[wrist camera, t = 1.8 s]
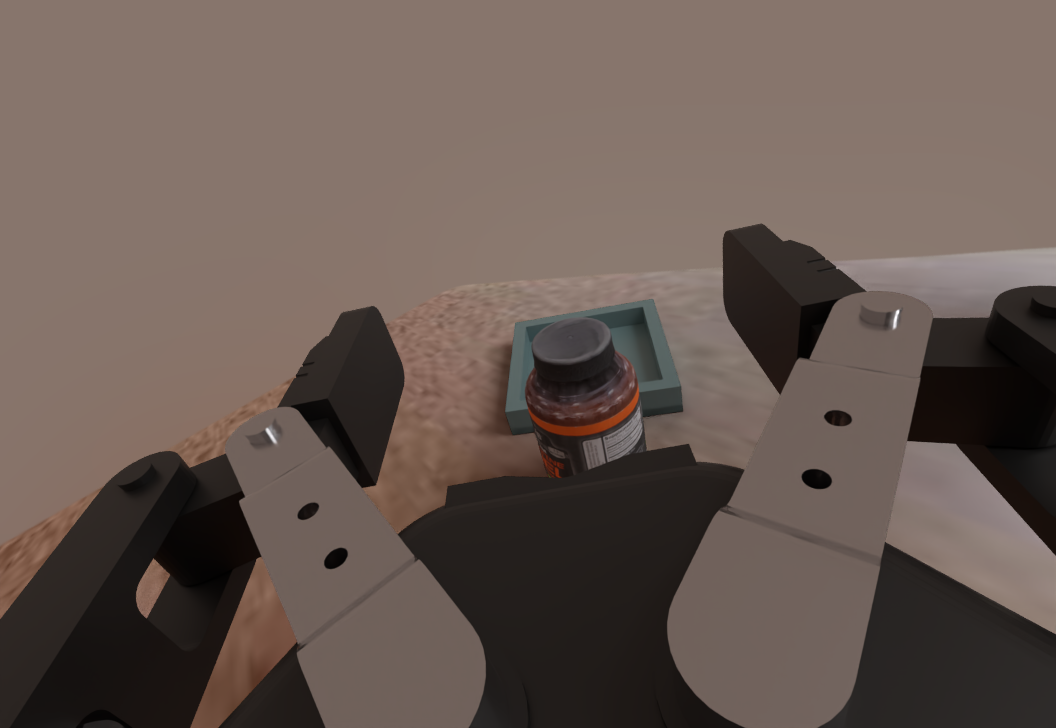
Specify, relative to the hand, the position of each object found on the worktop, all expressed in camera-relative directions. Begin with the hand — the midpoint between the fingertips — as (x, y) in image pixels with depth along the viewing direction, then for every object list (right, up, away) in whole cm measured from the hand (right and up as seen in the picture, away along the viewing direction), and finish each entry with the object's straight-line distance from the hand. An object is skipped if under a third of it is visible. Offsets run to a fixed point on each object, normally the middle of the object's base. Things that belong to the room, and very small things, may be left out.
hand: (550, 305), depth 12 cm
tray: (+4, -2, +30) cm, 30 cm away
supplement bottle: (+4, -9, +20) cm, 22 cm away
